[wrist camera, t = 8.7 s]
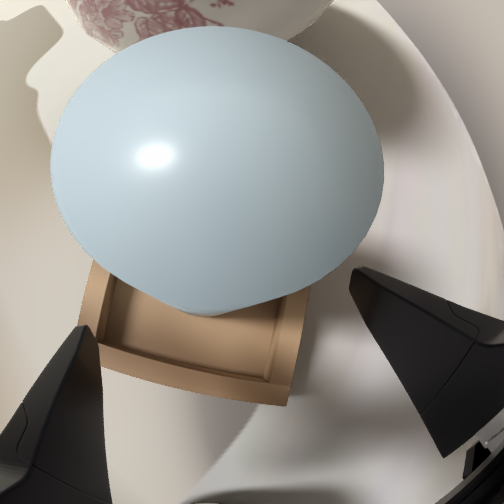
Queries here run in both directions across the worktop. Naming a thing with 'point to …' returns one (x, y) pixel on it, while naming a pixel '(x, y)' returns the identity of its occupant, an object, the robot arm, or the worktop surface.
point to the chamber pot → (191, 17)
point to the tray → (196, 341)
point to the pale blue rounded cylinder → (216, 168)
